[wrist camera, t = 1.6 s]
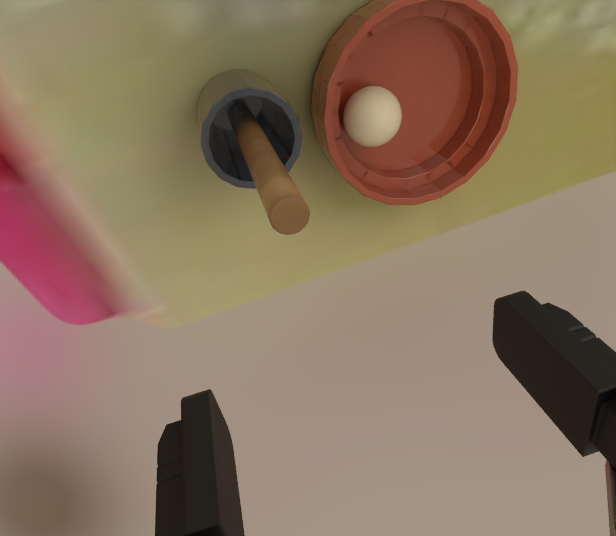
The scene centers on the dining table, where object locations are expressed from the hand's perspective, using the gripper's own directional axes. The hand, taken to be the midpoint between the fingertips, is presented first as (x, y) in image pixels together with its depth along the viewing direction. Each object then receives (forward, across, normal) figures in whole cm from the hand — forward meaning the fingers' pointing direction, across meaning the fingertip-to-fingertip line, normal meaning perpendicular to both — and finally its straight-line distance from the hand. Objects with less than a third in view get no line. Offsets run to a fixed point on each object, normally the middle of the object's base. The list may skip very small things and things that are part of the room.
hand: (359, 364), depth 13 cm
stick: (+27, 0, 0) cm, 27 cm away
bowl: (+28, -13, +2) cm, 31 cm away
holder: (+28, 0, 0) cm, 28 cm away
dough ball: (+28, -10, +2) cm, 29 cm away
